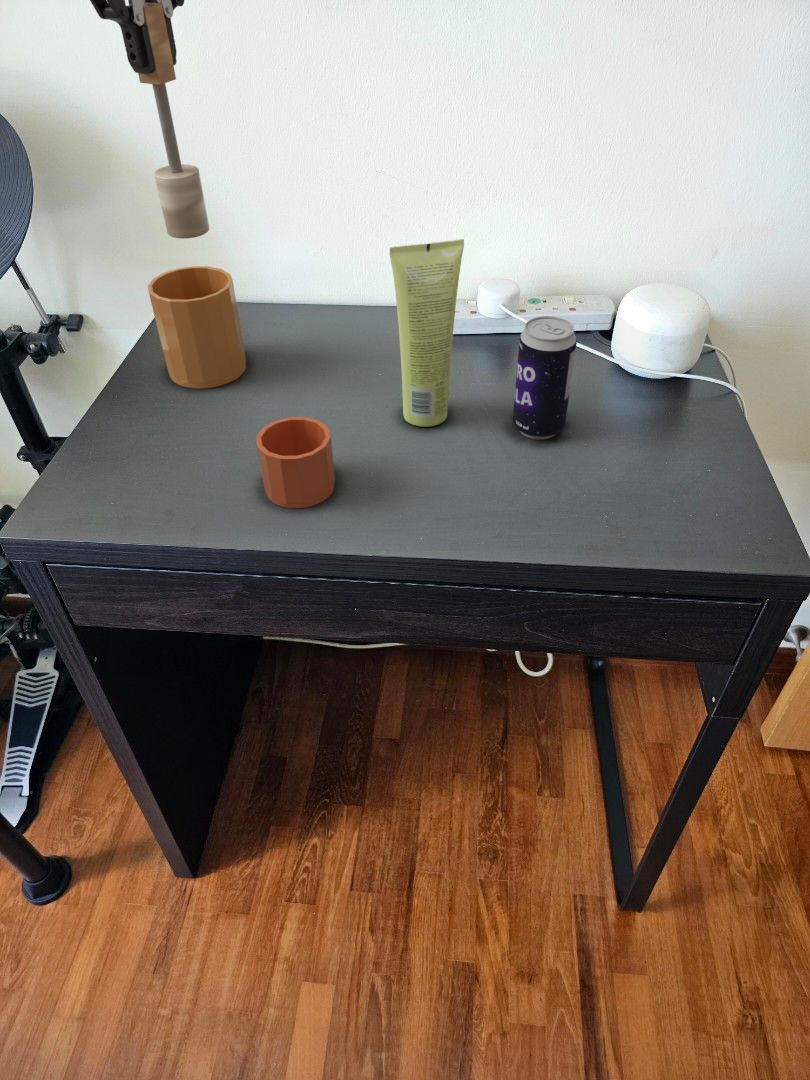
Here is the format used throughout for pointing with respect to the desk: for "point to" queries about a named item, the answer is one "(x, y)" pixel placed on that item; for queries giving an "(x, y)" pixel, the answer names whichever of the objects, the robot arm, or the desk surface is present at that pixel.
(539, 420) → the beverage can
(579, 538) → the desk surface
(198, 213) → the brush
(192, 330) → the orange pen cup
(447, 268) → the tube
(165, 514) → the desk surface
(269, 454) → the cup
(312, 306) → the desk surface
